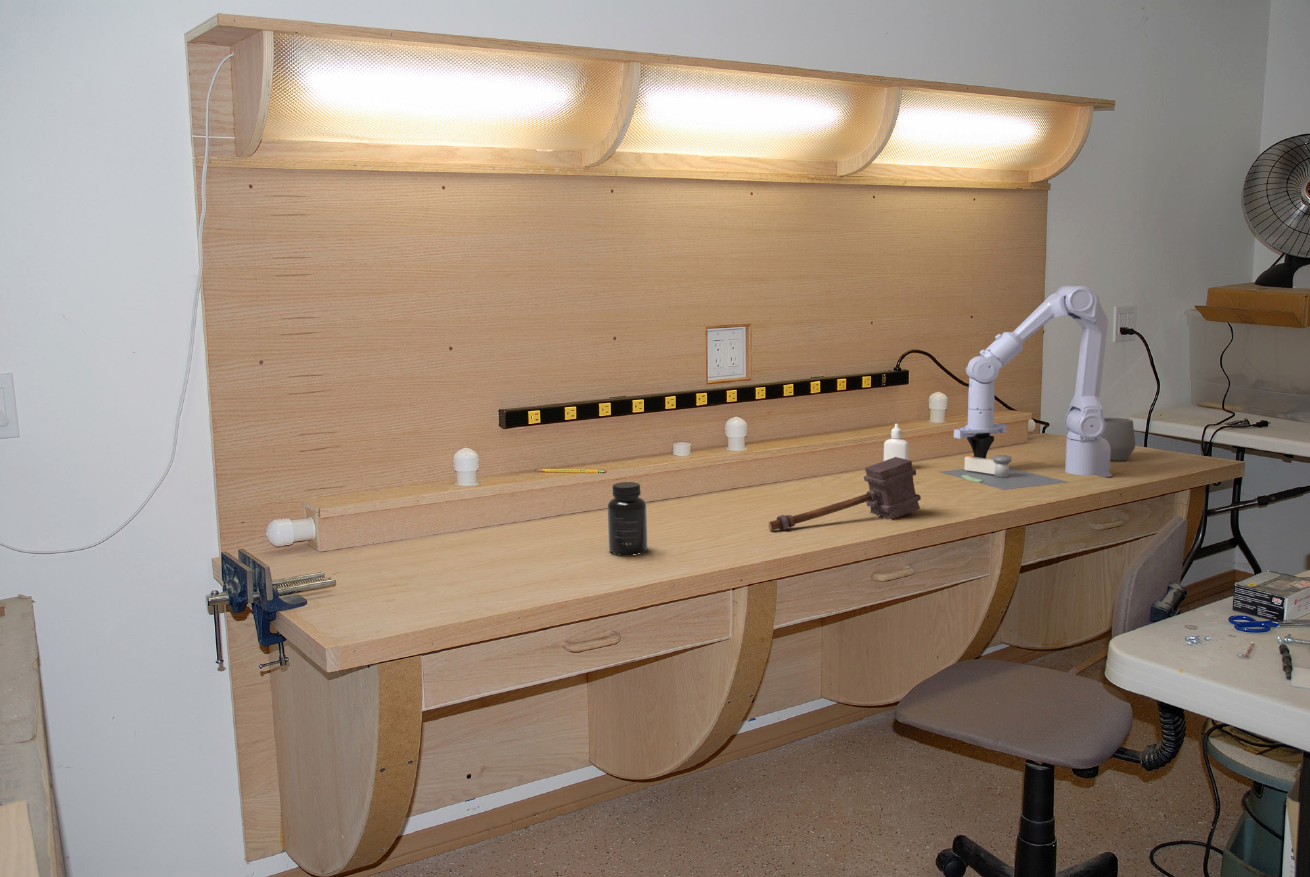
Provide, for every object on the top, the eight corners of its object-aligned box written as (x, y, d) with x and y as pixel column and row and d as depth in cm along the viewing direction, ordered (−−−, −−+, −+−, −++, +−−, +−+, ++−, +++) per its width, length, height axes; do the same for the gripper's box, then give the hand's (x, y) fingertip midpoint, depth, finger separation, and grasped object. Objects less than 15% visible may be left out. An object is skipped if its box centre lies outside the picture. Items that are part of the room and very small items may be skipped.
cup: (1085, 457, 253) (1087, 418, 252) (1116, 455, 256) (1119, 416, 254) (1110, 463, 244) (1113, 423, 243) (1143, 461, 247) (1145, 421, 245)
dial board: (998, 469, 240) (999, 463, 240) (1068, 486, 220) (1068, 480, 220) (938, 475, 233) (938, 470, 233) (1004, 494, 213) (1004, 488, 213)
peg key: (1014, 476, 226) (1015, 456, 225) (1005, 478, 224) (1006, 459, 223) (970, 469, 234) (971, 450, 234) (961, 472, 232) (962, 453, 231)
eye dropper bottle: (894, 470, 240) (895, 421, 238) (910, 474, 236) (912, 424, 234) (880, 472, 238) (881, 423, 236) (896, 476, 233) (897, 426, 231)
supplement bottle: (610, 545, 178) (608, 480, 176) (648, 545, 177) (647, 480, 175) (607, 556, 171) (605, 488, 169) (646, 556, 171) (645, 488, 169)
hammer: (923, 508, 196) (916, 460, 194) (785, 561, 184) (776, 511, 181) (901, 501, 202) (894, 455, 200) (766, 553, 190) (757, 504, 187)
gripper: (991, 403, 236) (989, 459, 239) (944, 409, 230) (943, 466, 232) (1013, 407, 230) (1011, 464, 232) (967, 412, 224) (965, 471, 226)
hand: (979, 465), depth 232 cm, fingers closed, pressing on peg key
